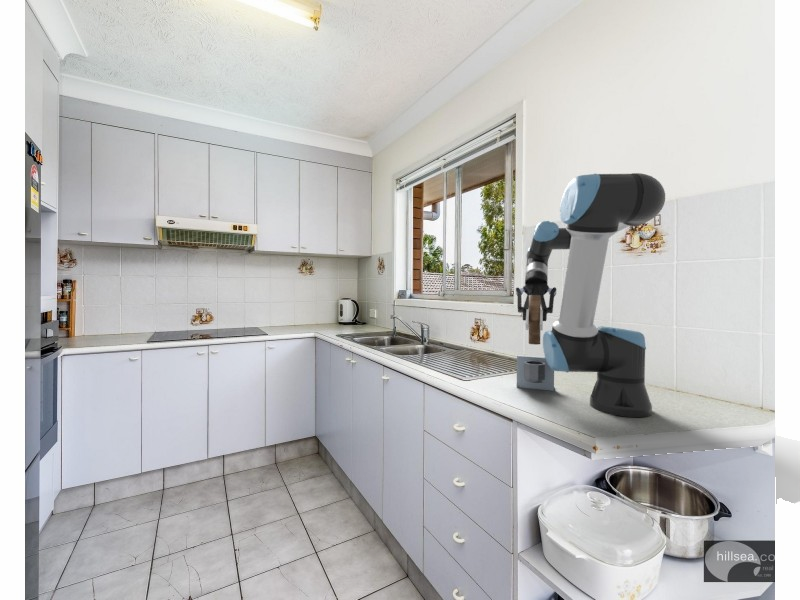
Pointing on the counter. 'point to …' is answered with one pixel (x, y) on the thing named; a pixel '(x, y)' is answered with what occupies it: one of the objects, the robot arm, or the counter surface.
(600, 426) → the counter surface
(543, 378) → the cup bracket
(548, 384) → the wall board
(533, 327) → the rail post
